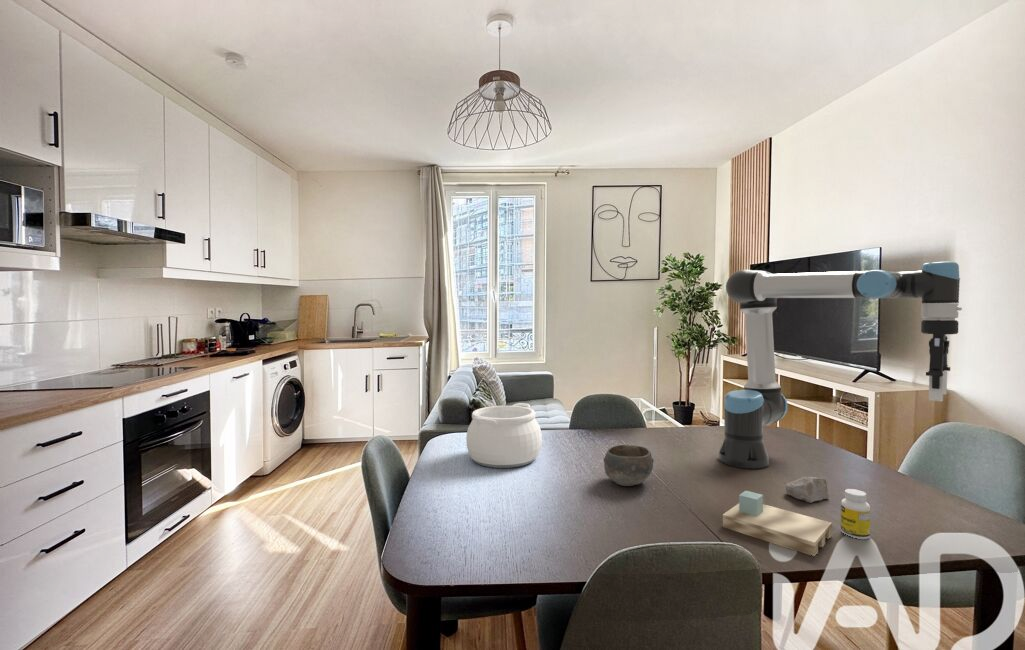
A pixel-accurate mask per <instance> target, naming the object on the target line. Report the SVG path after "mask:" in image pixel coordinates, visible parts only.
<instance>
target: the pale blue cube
mask: <svg viewBox="0 0 1025 650" xmlns="http://www.w3.org/2000/svg"><path fill="white" fill-rule="evenodd" d="M738 497H739V498H738V501H739V502H738V503H739V512H743V513H746V514H750V515H753V516H758V515H759V514H761V513H762V512H763V504H764V494H762V493H758V492H754V491H753V492H752V491H750V490H744V491H743V492H742V493H740V494H739V495H738Z"/></svg>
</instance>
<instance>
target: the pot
mask: <svg viewBox="0 0 1025 650" xmlns="http://www.w3.org/2000/svg"><path fill="white" fill-rule="evenodd" d="M536 414H537V413H536V411H535V410H534V409H533V408H531V404H529V403H526V402H517V403H514V404H512V405H493V406H486V407H481V408H477V409H475V410H473V411H472V414H471V419H472V420H471V422H470V424H469V426H468V428H467V432H466V448H467V452H468V454H469V456H470V458H471V459H472V460H473V462H474V463H476V464H478V465H481V466H483V467H486V468H492V467H493V469H511V468H519V467H523V466H526V465H529V464H531V463H532V462H534V461H535V460H536V459H537V458H538V456H540V455H539V454H540V453H541V450H542V445H543V444H542V443H543V441H542V439H543V436H542V430H541V427H540V424H539V422H538V420H536V419H537V418H536V416H537V415H536Z"/></svg>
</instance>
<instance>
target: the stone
mask: <svg viewBox="0 0 1025 650" xmlns="http://www.w3.org/2000/svg"><path fill="white" fill-rule="evenodd" d="M784 485H785V493H786V494H787V495H788V496H791V497H793V498H794V499H796V500H801V501H805V502H806V503H811V504H812V503H813V502H818V501H819V502H821V501H822V500H827V499H830V493H829V489H828V483H827V480H826V478H825V477H815V476H801V478H797V479H795V480H792V481H790V482H787V483H785V484H784Z"/></svg>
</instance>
